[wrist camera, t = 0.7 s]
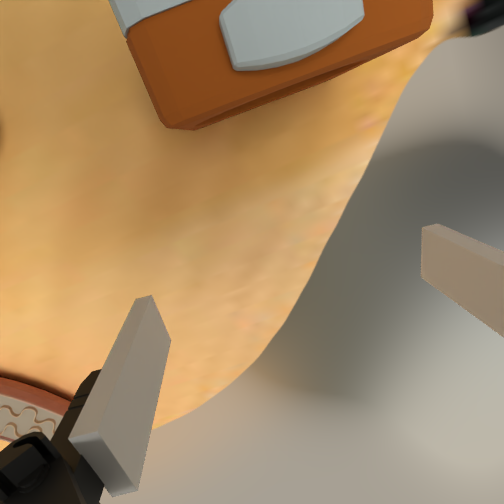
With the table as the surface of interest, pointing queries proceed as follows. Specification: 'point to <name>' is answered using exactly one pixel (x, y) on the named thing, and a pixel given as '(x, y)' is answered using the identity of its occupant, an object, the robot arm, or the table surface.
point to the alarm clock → (255, 48)
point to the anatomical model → (28, 410)
